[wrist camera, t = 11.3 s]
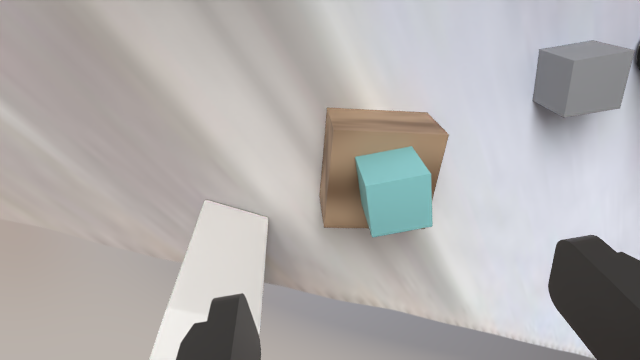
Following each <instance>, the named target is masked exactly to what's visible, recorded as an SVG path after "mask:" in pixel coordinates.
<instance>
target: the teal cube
mask: <svg viewBox="0 0 640 360" xmlns="http://www.w3.org/2000/svg"><path fill="white" fill-rule="evenodd" d="M355 160H356V168H357V175H358V182H359V189H360V196H361V204H362V207H363V210H364V213H365V217H366V220H367V223H368V226H369V229H370V232H371V235H372V237H377V236H383V235H388V234H394V233H399V232H404V231H410V230H415V229H421V228H426V227H431V226H432V191H431V173H430V172H429V170H428V169H427V167H426V166H425V164H424V163H423V161H422V160H421V159H420V157H419V156H418V154H417V153H416V151H415V150H414V149H413V147H412V146H410V147H405V148H400V149H394V150H389V151H384V152H378V153H373V154H368V155H362V156H357V157H355Z"/></svg>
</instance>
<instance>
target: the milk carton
mask: <svg viewBox="0 0 640 360" xmlns="http://www.w3.org/2000/svg"><path fill="white" fill-rule="evenodd" d="M267 231H268V218H267V217H264V216H261V215H258V214H254V213H251V212H247V211H244V210H240V209H237V208H233V207H230V206H226V205H223V204H220V203H216V202H213V201H209V200H205V201H204V203H203V206H202V209H201V212H200V215H199V218H198V220H197V223H196V226H195V229H194V232H193V235H192V237H191V240H190V243H189V246H188V249H187V252H186V254H185V257H184V260H183V263H182V266H181V269H180V271H179V274H178V277H177V280H176V283H175V286H174V288H173V291H172V294H171V297H170V300H169V302H168V306H167V308H166V311H165V314H164V317H163V320H162V323H161V327H160V329H159V332H158V335H157V338H156V341H155V344H154V347H153V350H152V353H151V356H150V359H149V360H176V357H177V354H178V350H179V347H180V343H181V342H182V340H183V339H184V337H185V336H186V334H187V333H188V331H189V330H190V328H191V327H192V326H193V324H194V323H199V322H205V321H207V318H208V314H209V309H210V305H211V302H212V300H213V299H214V298H217V297H223V296H229V295H235V294H241V293H243V294H244V295H245V297H246V299H247V302H248V305H249V308H250V311H251V313H252V316H253V319H254V322H255V325H256V328H257V331H258V334H259V333H260V327H261V314H262V300H263V286H264V272H265V259H266V245H267Z"/></svg>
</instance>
